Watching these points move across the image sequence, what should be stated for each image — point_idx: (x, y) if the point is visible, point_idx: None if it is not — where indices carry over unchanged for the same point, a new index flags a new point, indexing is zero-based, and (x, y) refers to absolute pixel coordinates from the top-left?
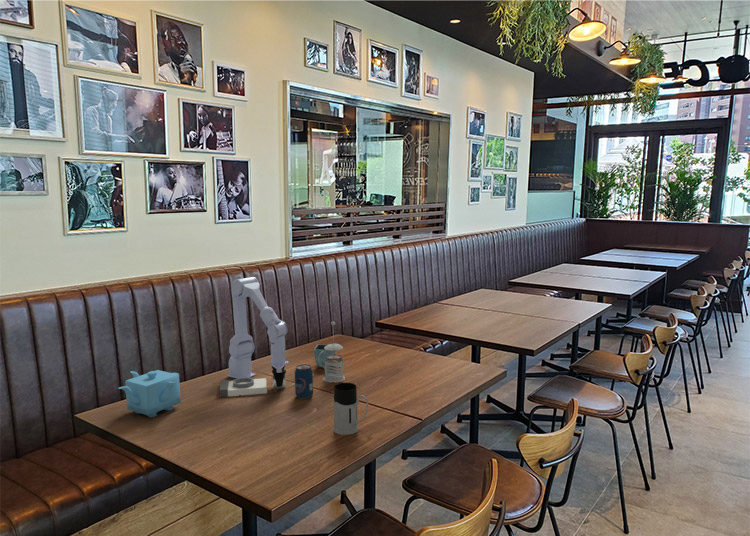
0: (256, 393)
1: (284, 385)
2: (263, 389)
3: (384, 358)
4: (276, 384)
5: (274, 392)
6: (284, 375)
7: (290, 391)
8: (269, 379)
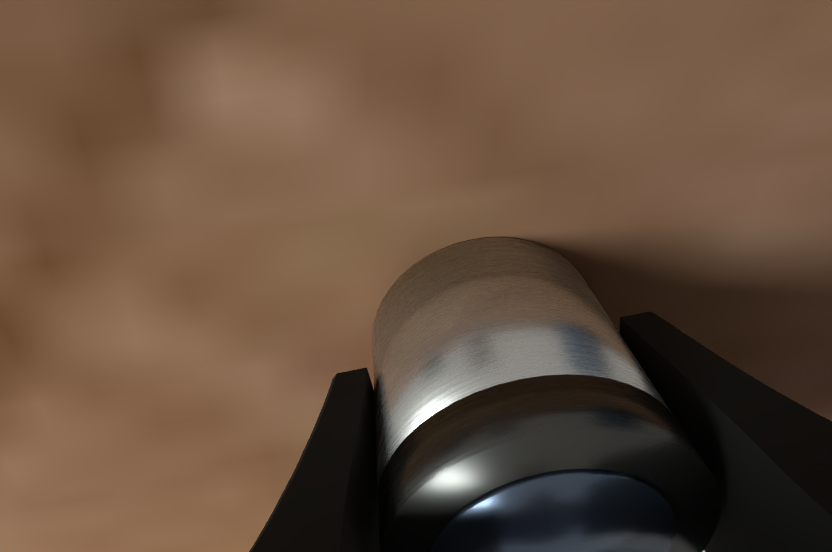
0: None
1: (560, 275)
2: None
3: None
4: None
5: None
6: (560, 447)
7: (759, 98)
8: (100, 519)
